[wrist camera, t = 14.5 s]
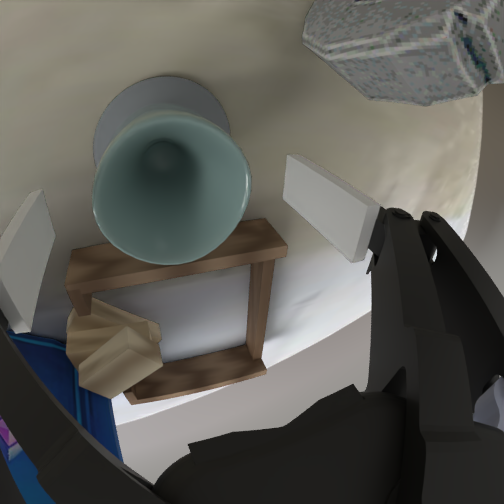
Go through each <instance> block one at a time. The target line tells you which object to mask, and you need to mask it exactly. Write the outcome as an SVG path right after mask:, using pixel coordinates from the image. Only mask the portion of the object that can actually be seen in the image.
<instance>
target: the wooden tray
mask: <svg viewBox="0 0 504 504" xmlns="http://www.w3.org/2000/svg"><path fill="white" fill-rule="evenodd" d="M287 249H288V245H287V244H286V243H285V241H284V240H283V239H282V238H281V236H280V235H279V234H278V233H277V232H276V230H275V229H274V228H273V227H272V226H271V224H270V223H269V222H268V221H267V220H266V219H265V218H263V219H255V220H248V221H241V222H239V223H238V224H237V226H236V228H235V229H234V230H233V232H232V233H231V234H230V235H229V236H228V237H227V239H226V240H225V241H224V242H222V243H221V244H220V245H219V246H218V247H217V248H216V249H214V250H213V251H211V252H210V253H208V254H207V255H205V256H203V257H201V258H199V259H196V260H194V261H192V262H188V263H183V264H178V265H161V264H154V263H149V262H145V261H142V260H139V259H136V258H134V257H132V256H130V255H128V254H125V253H124V252H122V251H121V250H119V249H118V248H117V247H115V246H114V245H112V243H107V244H101V245H96V246H91V247H85V248H80V249H75V250H72V253H71V257H70V261H69V266H68V270H67V275H66V280H65V285H64V286H65V288H66V291H67V293H68V295H69V297H70V300H71V302H72V304H73V306H74V308H75V310H76V312H77V314H78V316H79V317H81V316H87V315H91V303H92V293H94V292H99V291H105V290H111V289H116V288H122V287H127V286H133V285H139V284H144V283H150V282H155V281H161V280H166V279H172V278H177V277H182V276H188V275H193V274H198V273H204V272H209V271H214V270H220V269H225V268H230V267H236V266H241V265H246V264H251V272H250V287H249V302H248V317H247V333H246V345H242V346H238V347H235V348H231V349H227V350H223V351H218V352H214V353H210V354H206V355H201V356H197V357H192V358H188V359H183V360H178V361H173V362H168V363H163V366H162V367H161V368H159V369H157V370H156V371H154V372H153V373H151V374H150V375H148V376H147V377H145V378H144V379H142V380H141V381H139V382H137V383H136V384H134V385H133V386H131V387H130V388H128V389H127V390H125V391H123V394H124V395H125V397H126V398H127V400H128V401H129V403H130V404H131V405H135V404H141V403H147V402H153V401H159V400H164V399H169V398H174V397H179V396H184V395H189V394H193V393H198V392H202V391H206V390H210V389H214V388H218V387H222V386H226V385H230V384H234V383H237V382H241V381H244V380H248V379H251V378H255V377H258V376H261V375H265V374H266V371H267V369H266V367H265V365H264V363H263V361H262V359H261V357H262V351H263V344H264V337H265V330H266V323H267V316H268V308H269V301H270V293H271V286H272V278H273V271H274V263H275V259H277V258H282V257H286V255H287Z"/></svg>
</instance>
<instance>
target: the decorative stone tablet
mask: <svg viewBox="0 0 504 504" xmlns="http://www.w3.org/2000/svg"><path fill="white" fill-rule="evenodd" d="M302 44H304V45H305V46H306V47H307V48H309V49H310V50H311V51H312V52H314V53H315V54H316V55H317V56H318V57H320V58H321V59H322V60H323V61H324V62H325V63H327V64H328V65H329V66H330V67H331V68H332V69H334V70H335V71H336V72H337V73H338V74H339V75H340V76H341V77H343V78H344V79H345V80H346V81H347V82H349V83H350V84H351V85H352V86H353V87H355V88H356V89H357V90H358V91H359V92H361V93H362V94H363V95H364V96H365V97H366V98H367V99H368V100H376V101H387V102H397V103H405V104H413V105H419V106H430V105H434V104H439V103H443V102H448V101H452V100H457V99H462V98H467V97H472V96H477V95H478V94H479V93H480V92H481V91H482V90H483V89H484V87H485V86H486V85H487V84H493V83H504V0H315V2H314V3H313V5H312V7H311V9H310V10H309V12H308V14H307V16H306V17H305V26H304V31H303V34H302Z"/></svg>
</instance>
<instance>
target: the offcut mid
mask: <svg viewBox="0 0 504 504" xmlns="http://www.w3.org/2000/svg"><path fill="white" fill-rule="evenodd" d="M126 326H128V327H130V328H131V329H133V330H135V331H136V332H138V333H140V334H141V335H143V336H145V337H146V338H148V339H150V340H152V341H153V339H152V335H151V332H150V328H149V325H148V321H143V322H137V323H131V324H124V325H119V326H112V327H105V328H99V329H91V330H84V331H77V332H69V333H67V344H66V355H67V356H68V358H69V359H70V361H71V362H72V364H73V365H74V367H75V368H76V370H77V371H78V373H79V365H80V364H81V363H82V362H83V361H84V360H86V359H87V358H88V357H89V356H90V355H92V354H93V353H94V352H95V351H97V350H98V349H99V348H100V347H101V346H103V345H104V344H105V343H106V342H108V341H109V340H110V339H111V338H113V337H114V336H115V335H116V334H117V333H119V332H120V331H121V330H122V329H124V328H125V327H126Z"/></svg>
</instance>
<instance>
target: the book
mask: <svg viewBox="0 0 504 504" xmlns="http://www.w3.org/2000/svg"><path fill="white" fill-rule="evenodd" d="M6 332H7V333H8V335H9V336H10V337H11V339H12V341H13V342H14V344H15V345H16V347H17V348H18V350H19V351H20V352H21V354H22V355H23V357H24V358H25V360H26V361H27V362H28V364H29V365H30V366H31V368H32V369H33V370H34V372H35V373H36V374H37V376H38V377H39V378H40V380H41V381H42V382H43V383H44V385H45V386H46V387H47V388H48V389H49V391H50V392H51V393H52V394H53V395H54V397H55V398H56V399H57V400H58V401H59V402H60V403H61V404H62V406H63V407H64V408H65V409H66V410H67V411H68V412H69V413H70V414H71V415H72V416H73V417H74V418H75V419H76V420H77V421H78V423H79V424H80V425H81V426H82V427H83V428H85V429H86V430H87V431H88V432H89V433H90V434H91V435H92V436H93V437H94V438H95V439H96V440H97V441H98V442H99V443H100V444H102V445H103V446H104V447H105V448H106V449H107V450H108V451H110V452H111V453H112V454H113V455H114V456H115V457H117V458H118V459H119V460H120V461H122V462H123V458H122V454H121V449H120V445H119V440H118V436H117V431H116V425H115V420H114V414H113V408H112V402H111V399H109V398H107V397H104V396H102V395H99V394H97V393H94V392H92V391H90V390H87V389H85V388H83V387H80V386H79V373H78V371H77V370H76V368H75V367H74V365H73V364H72V362H71V361H70V359H69V358H68V356H67V355H66V345H65V344H63V343H61V342H59V341H56V340H54V339H49V338H43V337H37V336H32V335H27V334H22V333H18V334H15V332H12V331H8V330H6ZM0 448H1V451H2V454H3V456H4V458H5V461H6V463H7V465H8V468H9V470H10V472H11V474H12V477H13V479H14V481H15V483H16V485H17V487H18V489H19V491H20V493H21V495H22V496H23V498H24V500H25V502H26V504H56V503H55V502H54V501H53V500H52V499H51V497H50V496H49V495H48V494H47V493H46V492H45V491H44V489H43V488H42V487H41V485H40V484H39V482H38V480H37V478H36V476H37V474H38V470H37V468H36V467H35V465H34V464H33V463H32V462H31V460H30V459H29V458H28V456H27V455H26V454H25V452H24V451H23V449H22V448H21V447H20V445H19V444H18V442H17V441H16V439H15V438H14V436H13V435H12V433H11V432H10V430H9V429H8V427H7V426H6V424H5V422H4V421H3V419H2V417H1V416H0ZM123 463H124V462H123Z"/></svg>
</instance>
